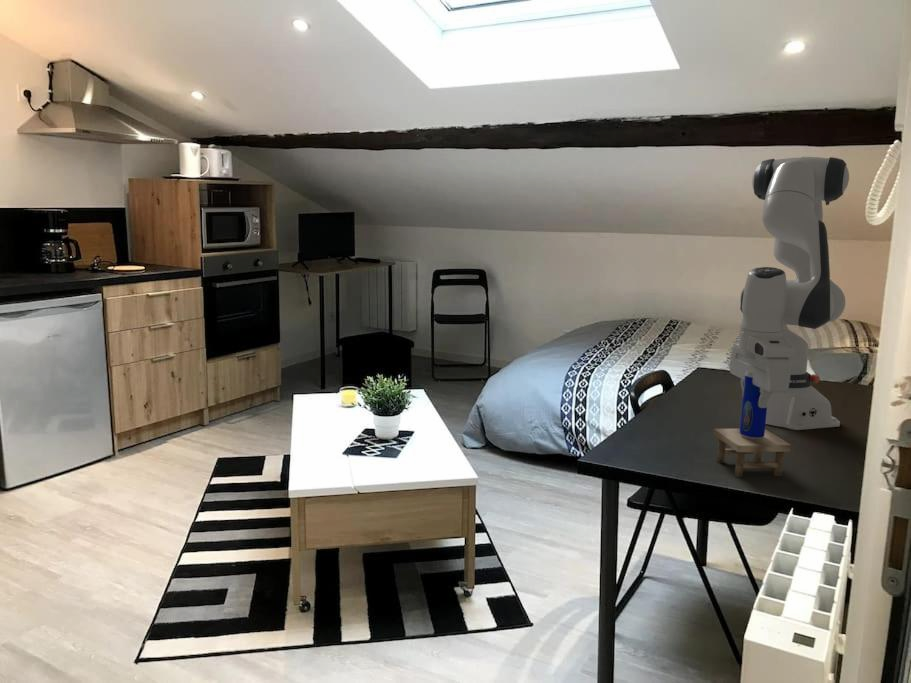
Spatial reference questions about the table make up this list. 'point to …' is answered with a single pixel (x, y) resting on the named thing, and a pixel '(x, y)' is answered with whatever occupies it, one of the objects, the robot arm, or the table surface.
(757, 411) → the beverage can
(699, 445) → the table surface
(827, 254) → the robot arm
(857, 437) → the table surface
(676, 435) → the table surface
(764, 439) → the stool
